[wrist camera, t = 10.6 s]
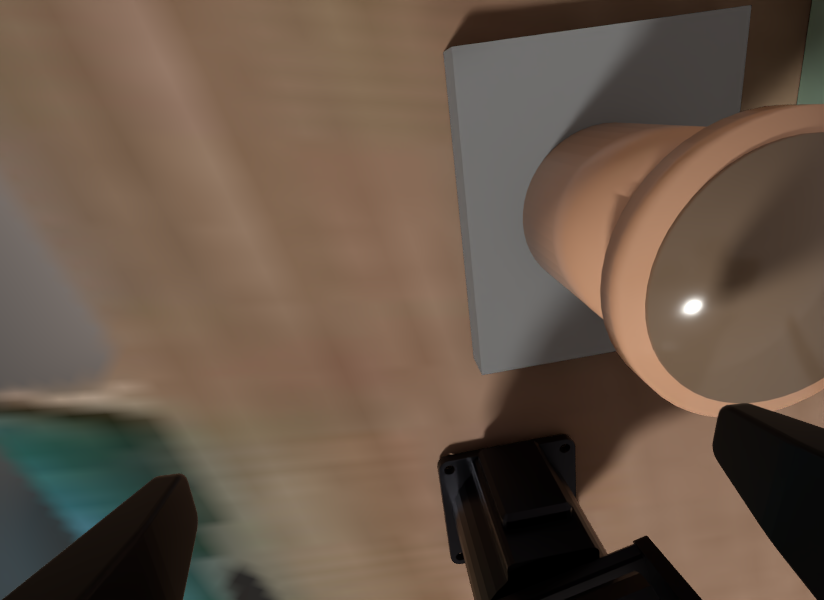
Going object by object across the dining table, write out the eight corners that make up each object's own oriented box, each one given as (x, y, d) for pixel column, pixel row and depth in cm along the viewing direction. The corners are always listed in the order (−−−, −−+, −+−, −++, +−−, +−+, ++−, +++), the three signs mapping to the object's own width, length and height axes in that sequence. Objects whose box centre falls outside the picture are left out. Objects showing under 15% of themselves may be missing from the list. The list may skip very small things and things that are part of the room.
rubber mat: (692, 319, 22) (716, 333, 20) (473, 357, 21) (482, 374, 20) (719, 13, 17) (751, 4, 16) (443, 52, 17) (451, 46, 15)
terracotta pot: (686, 283, 19) (898, 392, 12) (514, 312, 19) (621, 445, 11) (702, 92, 17) (987, 79, 9) (503, 122, 16) (631, 133, 9)
